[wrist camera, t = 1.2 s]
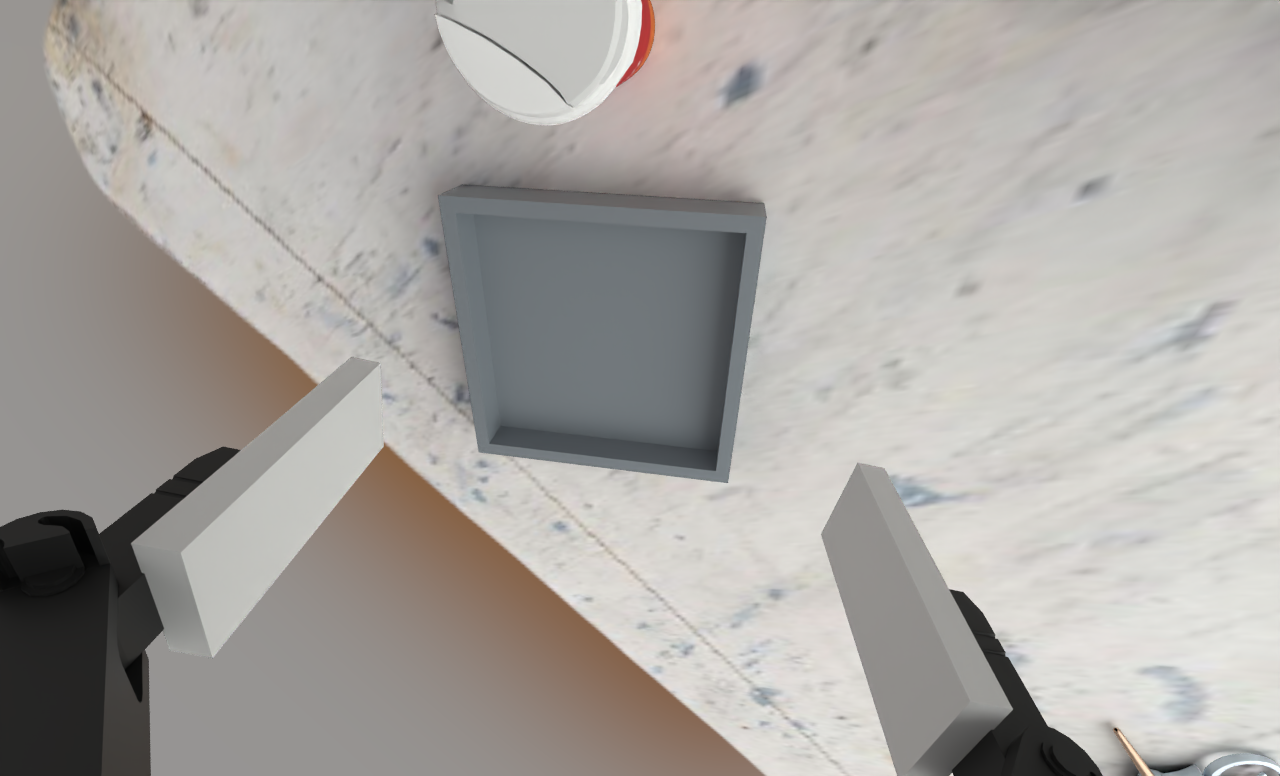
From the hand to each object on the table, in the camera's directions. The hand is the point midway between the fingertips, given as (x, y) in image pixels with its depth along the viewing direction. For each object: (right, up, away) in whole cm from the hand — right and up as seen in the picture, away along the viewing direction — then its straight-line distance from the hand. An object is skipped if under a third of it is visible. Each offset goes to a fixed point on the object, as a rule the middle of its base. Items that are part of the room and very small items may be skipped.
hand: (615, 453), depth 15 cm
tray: (-2, +6, +26) cm, 26 cm away
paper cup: (-1, +22, +16) cm, 27 cm away
